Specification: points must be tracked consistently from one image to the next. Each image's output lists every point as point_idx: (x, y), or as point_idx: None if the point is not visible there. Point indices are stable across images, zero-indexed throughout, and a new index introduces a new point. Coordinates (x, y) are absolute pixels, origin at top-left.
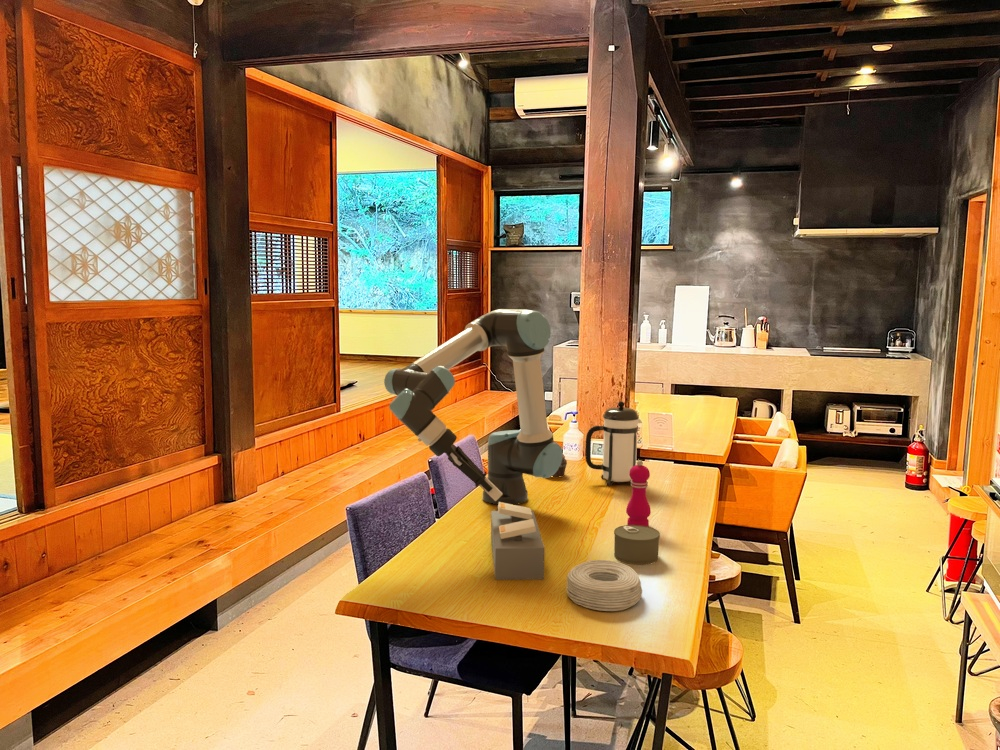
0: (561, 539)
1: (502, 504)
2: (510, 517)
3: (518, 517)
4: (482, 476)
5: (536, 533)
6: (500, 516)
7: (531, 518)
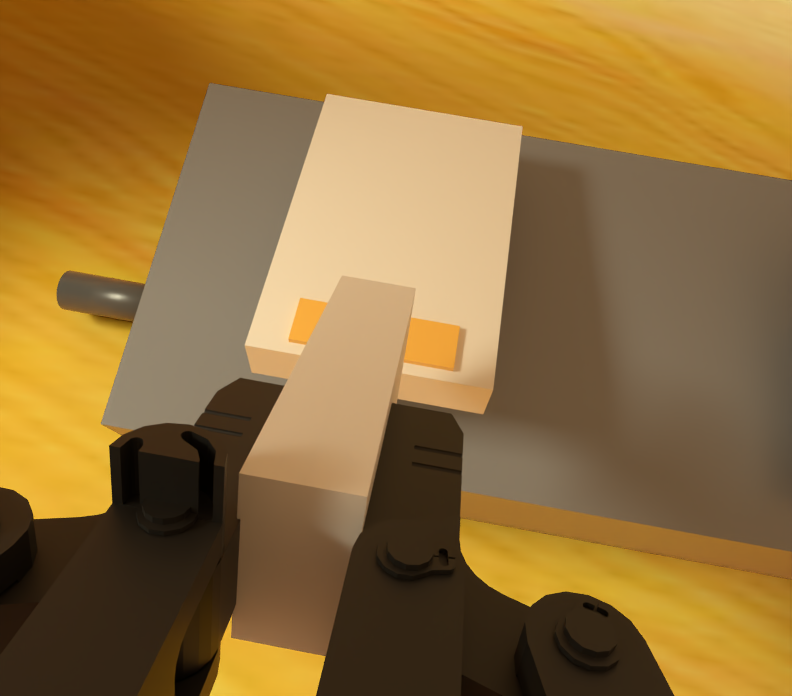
0: (322, 65)
1: None
2: None
3: None
4: (454, 604)
5: (779, 203)
6: None
7: None
